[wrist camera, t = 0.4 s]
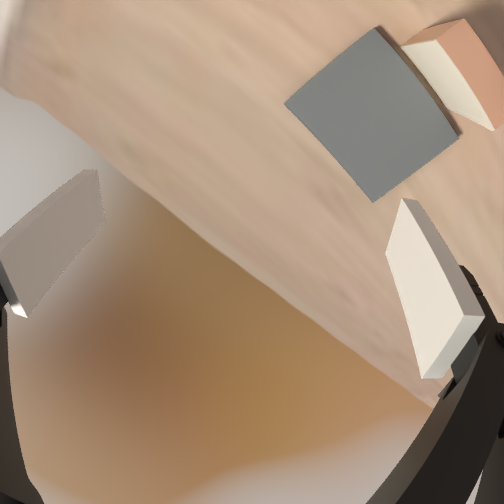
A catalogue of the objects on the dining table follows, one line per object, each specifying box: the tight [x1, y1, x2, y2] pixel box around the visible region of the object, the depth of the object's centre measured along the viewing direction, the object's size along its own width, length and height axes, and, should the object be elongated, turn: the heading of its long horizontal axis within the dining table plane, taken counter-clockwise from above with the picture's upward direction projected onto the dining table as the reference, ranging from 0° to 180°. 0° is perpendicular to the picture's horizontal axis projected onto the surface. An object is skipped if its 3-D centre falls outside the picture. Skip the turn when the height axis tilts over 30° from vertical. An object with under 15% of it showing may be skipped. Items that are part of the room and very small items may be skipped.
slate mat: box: [284, 28, 459, 203], centre depth 32 cm, size 14×16×1 cm
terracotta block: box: [401, 18, 504, 131], centre depth 22 cm, size 4×9×12 cm, turn 46°
